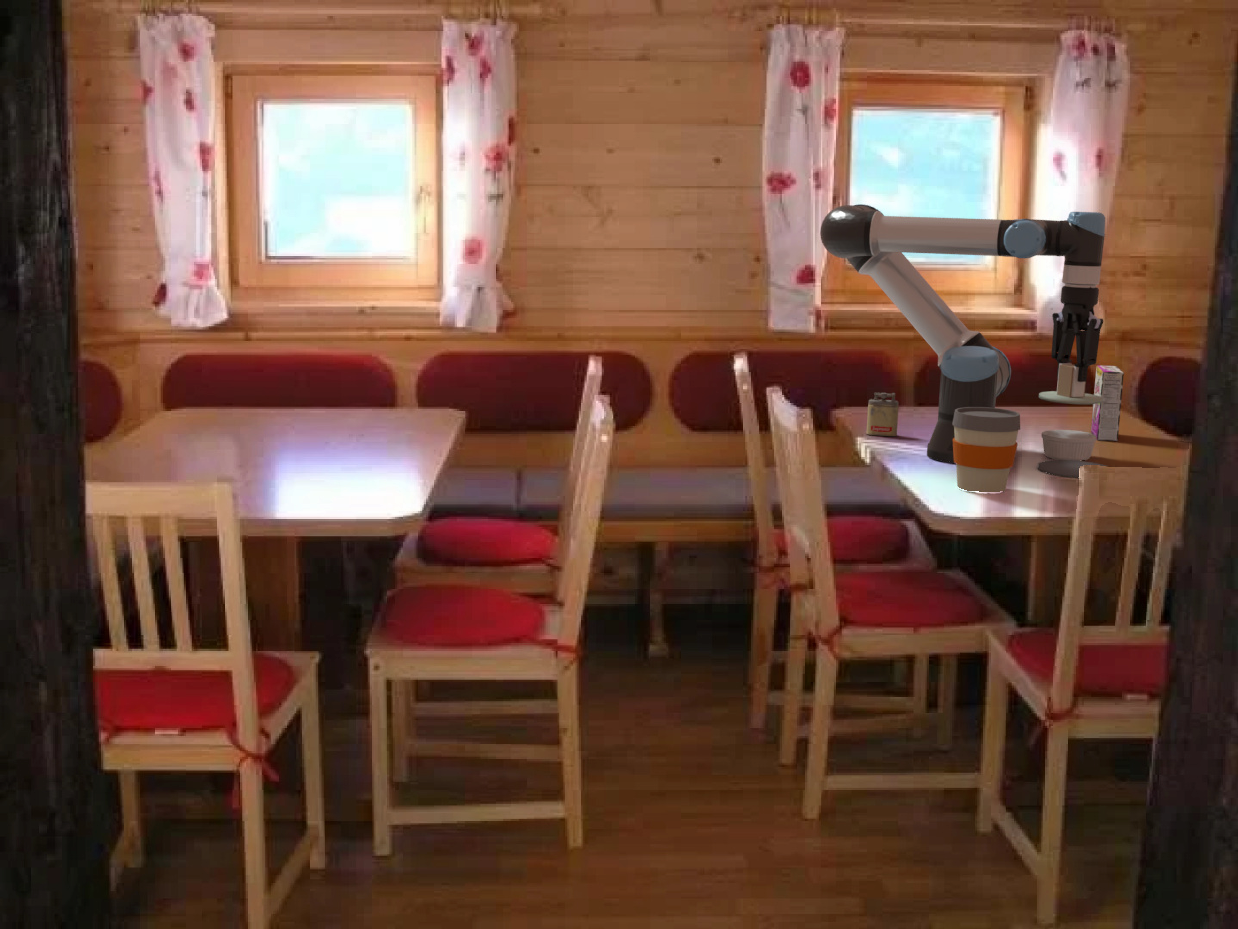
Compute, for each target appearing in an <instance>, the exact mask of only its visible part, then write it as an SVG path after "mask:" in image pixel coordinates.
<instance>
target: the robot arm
mask: <svg viewBox="0 0 1238 929" xmlns="http://www.w3.org/2000/svg"><path fill="white" fill-rule="evenodd" d="M1105 229H1106V216H1105V214H1104V213H1102V212H1099V211H1098V212H1097V211H1095V212H1094V211H1071V212H1069V214H1068V217H1067V220H1052V219H1051V220H1050V219H1049V220H1047V219H1035V218H1034V219H1031V218H1018V219H1017V218H1015V219H998V218H996V219H994V218H991V219H990V218H964V217H961V218H960V217H959V218H958V217H956V218H955V217H933V216H932V217H931V216H930V217H928V216H927V217H926V216H925V217H924V216H922V217H921V216H897V215H896V216H895V215H884V214H883V213H882V212H881V210H879V209H878V208H876V207H874V206H871V205H868V204H862V203H861V204H859V203H858V204H854V205H852V204H851V205H850V204H847V205H846V204H845V205H840V206H837V207H835V208H834V209H832V210H831V211H829V212H828V213H827V215H826V216H825V217H823V220H822V223H821V226H820V230H819V232H820V236H819V237H820V240H821V243H822V245H823V246H824V248H825V249H826V251H827V252H828V253H829V254H831V255H832V256H834V257H836V258H840V259H846V260H847V261H848V262H849V263H850V265H851V266H852V267H853V268H854V270H855V271H856V272H857V273H858V274H859V275H866V276H870V277H871V279H872V280H873V281H874V283H876V284H877V285H878V288H880V289H881V291H883V293H884V294H885V295H886V296H887V297H888V298H889V300H890V301H891V302H892V303H893V305H895V306H896V308H897V309H898V310H899V311H900V313H901V314H902V315H903V317H905V318H906V319H907V321H908V322H909V323H910V324H911V326H913V328H914V329H915V330H916V331H917V333H919V335H920V337H922V338H923V339H924V340H925V342H926V343H927V344H928V345H929V346H930V347H931V348H932V351H933V352H935V354H936V355H937V366H938V367H939V369H940V382H939V398H938V410H937V411H938V412H937V421H936V424H935V426H934V429H933V432H932V434H931V437H930V440H929V442H928V444H927V450H926V456H927V457H928V458H930V459H932V460H935V461H938V462H939V461H940V462H944V463H951V464H956V463H955V462H954V455H953V438H955V433H954V426H953V425H952V423H953V418H954V412H955V409H958V408H964V407H988V408H996V399H997V398H998V397H1000V395H1001V394H1003V392H1004V391H1006V389H1007V387H1008V385H1009V383H1010V380H1011V375H1012V368H1011V364H1010V360H1009V359H1008V357H1007V355H1006V354H1005V353H1004V352H1003V351H1002V350H1000V349H999V348H996V347H995V346H992V344H990V342H989V341H988V340H987V339H986V338H985V337H984V335H983V334H982V333H981V332H980V331H977V330H970V329H968V327H967V326H965V325H966V324H964V322H962V321H961V320H960V318H959V317H958V316H957V315H956V314H955V313H954V310H952V309H951V308H950V307H949V306H948V304H947V303H946V302H945V301H944V300H943V298H941V296H940V295H939V294H938V293H937V291H936V290H935V289H934V288H933V287H932V286H931V285H930V283H929V282H928V281H927V280H926V279H925V277H923V275H922V273H920V272H919V271H918V270H917V268H916V267H915V266H914V265H913V263H911V262H910V260H909V259H908V257H907V256H905V254H904V253H909V254H911V253H913V254H937V255H958V256H961V255H965V256H987V257H988V256H989V257H1006V258H1007V257H1009V258H1016V259H1030V258H1033V257H1036V256H1042V257H1044V256H1046V257H1051V256H1052V257H1064V261H1063V271H1062V278H1061V279H1062V280H1061V282H1062V283H1063V284H1064V285H1063V286H1062V287H1061V293H1060V303H1061V304H1063V307H1062V309H1061V311H1060V312H1054V313H1052V316H1051V317H1052V321H1053V329H1052V343H1051V344H1052V345H1051V358H1052V359H1054V360H1055V361H1056V363H1057V369H1056V370H1057V371H1056V376H1057V379H1058V378H1059V368H1060V365H1075V366H1074V372H1073V383H1072V393H1071V397H1084V387H1085V388H1086V386H1085V382H1086V383H1087V379H1088V378H1087V377H1088V369H1089V367H1090V366H1092V365H1096V364H1097V357H1098V351H1099V344H1100V343H1099V342H1100V334H1101V329H1102V327H1103V325H1104V319H1103V318H1098V317H1097V316H1095V310H1094V307H1095V306H1096V305H1097V304H1098V302H1099V293H1100V289H1099V288H1098V287H1097V286H1098V285H1100V282H1101V271H1102V261H1103V253H1104V245H1105V237H1106V234H1105V231H1106V230H1105ZM1074 342H1075V346H1076V349H1075V350H1076V363H1074V364H1072V362H1073V360H1072V359H1070V358H1071V355H1072V350H1073V347H1074ZM1057 389H1058V381H1057V386H1056V390H1057Z"/></svg>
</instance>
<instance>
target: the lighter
mask: <svg viewBox="0 0 1238 929" xmlns="http://www.w3.org/2000/svg"><path fill="white" fill-rule="evenodd" d="M873 396H874V398H870V399H869V400H868V406H867V417H866V418H867V419H866V432H865V433H866V435H870V436H881V437H882V436H883V437H897V436H898V421H899V409H900V408H899V407H900V406H899V401H898V400H896V393H895V392H892V393H887V392H874V395H873ZM879 398H881V399H879ZM887 398H891V400H890V399H887Z"/></svg>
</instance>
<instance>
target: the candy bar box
mask: <svg viewBox="0 0 1238 929" xmlns="http://www.w3.org/2000/svg"><path fill="white" fill-rule="evenodd" d="M1095 368H1096V370H1095V377H1094V378H1095V381H1094V390H1093V391H1094V393H1093V395H1097V396H1100V397H1102V403H1099V404H1092V415H1091V416H1092V417H1091V429H1090V433H1092V434H1094V435H1096V441H1101V442H1102V441H1104V442H1119V434H1120V433H1119V432H1120V430H1119V429H1120V420H1121V408H1122V407H1121V406H1122V399H1123V398H1122V397H1123V388H1124V387H1123V383H1124V376H1125V375H1124V374H1125V373H1124V372H1123V371H1122V370H1121V369H1120V368H1119V367H1118V366H1115V365H1101V364H1100V365H1099V364H1098V365H1096V366H1095Z"/></svg>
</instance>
